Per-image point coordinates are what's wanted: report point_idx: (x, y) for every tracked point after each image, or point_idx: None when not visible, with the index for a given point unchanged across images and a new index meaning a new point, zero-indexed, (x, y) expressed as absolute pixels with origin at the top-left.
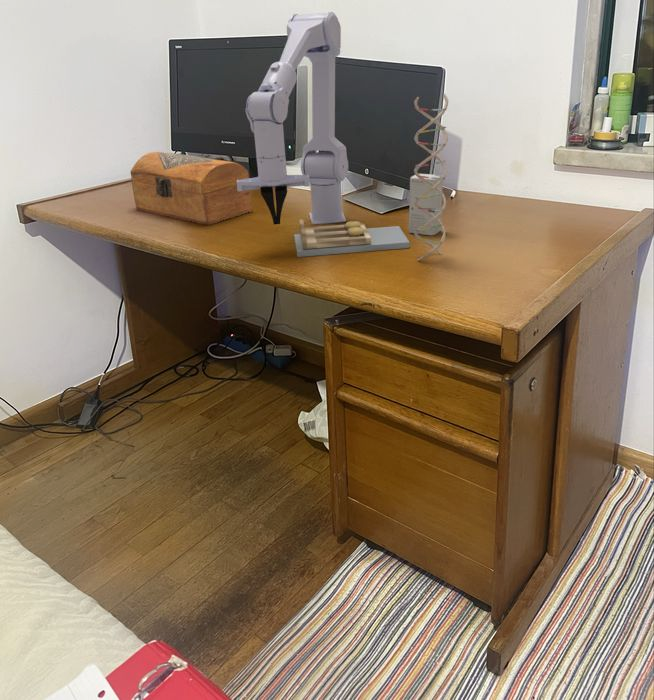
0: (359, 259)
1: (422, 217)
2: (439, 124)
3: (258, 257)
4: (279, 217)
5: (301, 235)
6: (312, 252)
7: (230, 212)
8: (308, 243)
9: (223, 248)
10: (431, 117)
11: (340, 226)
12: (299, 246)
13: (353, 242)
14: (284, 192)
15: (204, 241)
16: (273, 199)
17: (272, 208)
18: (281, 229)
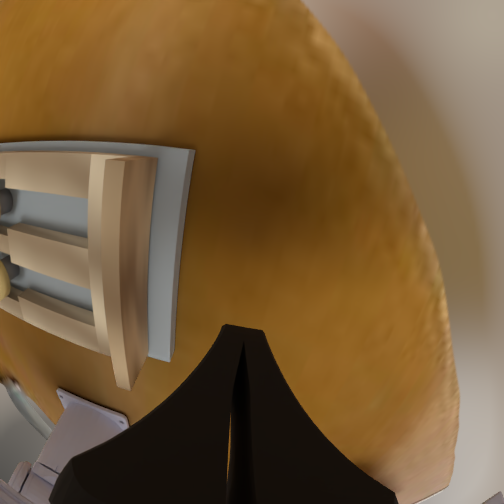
0: (36, 75)
1: None
2: None
3: (346, 221)
4: (220, 344)
5: (135, 259)
6: (130, 143)
7: None
8: (124, 156)
9: (401, 354)
10: None
11: (27, 310)
12: (165, 215)
13: (7, 151)
14: (71, 493)
15: (405, 406)
16: (257, 469)
17: (269, 403)
18: None
